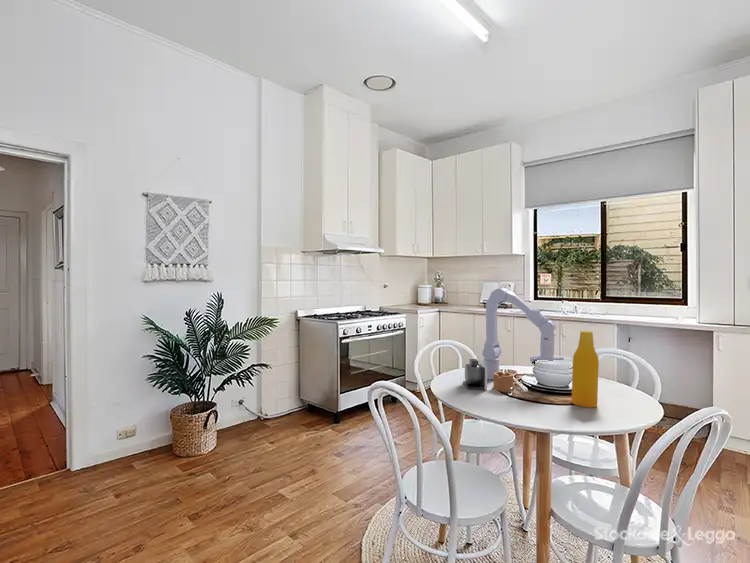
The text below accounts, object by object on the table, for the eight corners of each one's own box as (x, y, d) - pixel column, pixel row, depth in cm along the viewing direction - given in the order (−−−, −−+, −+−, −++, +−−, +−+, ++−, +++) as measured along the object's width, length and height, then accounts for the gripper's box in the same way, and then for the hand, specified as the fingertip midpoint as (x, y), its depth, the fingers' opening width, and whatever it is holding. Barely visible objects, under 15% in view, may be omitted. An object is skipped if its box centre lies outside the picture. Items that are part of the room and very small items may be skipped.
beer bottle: (566, 401, 168) (568, 330, 167) (584, 399, 171) (586, 329, 170) (583, 409, 160) (586, 333, 158) (602, 406, 162) (605, 332, 161)
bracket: (510, 393, 179) (510, 377, 179) (491, 390, 183) (491, 374, 183) (520, 383, 194) (520, 368, 194) (502, 380, 199) (502, 366, 198)
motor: (462, 382, 194) (463, 356, 193) (479, 382, 194) (480, 357, 194) (468, 390, 182) (469, 363, 181) (486, 390, 182) (487, 363, 182)
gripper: (534, 349, 184) (533, 379, 184) (567, 349, 184) (566, 379, 184) (528, 346, 191) (527, 375, 191) (560, 346, 191) (559, 375, 191)
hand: (546, 377), depth 188 cm, fingers open, 7 cm apart
